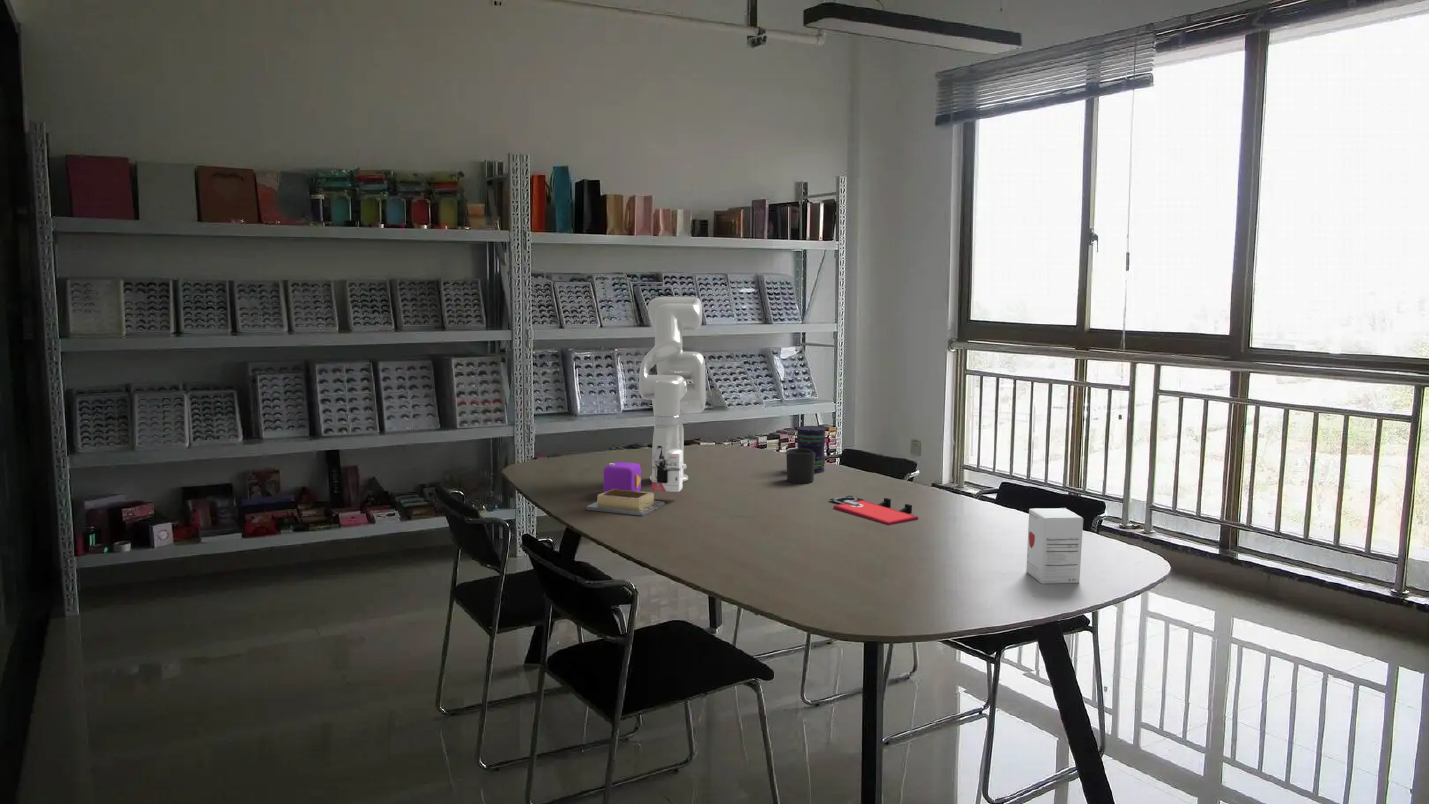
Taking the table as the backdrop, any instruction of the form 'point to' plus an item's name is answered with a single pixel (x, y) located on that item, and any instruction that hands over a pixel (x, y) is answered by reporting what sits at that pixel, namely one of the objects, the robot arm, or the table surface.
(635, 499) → the mount collar
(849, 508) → the red board with handle
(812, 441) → the storage jar
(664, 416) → the robot arm
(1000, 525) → the table surface
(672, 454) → the ink box
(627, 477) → the toy camera
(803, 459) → the pen holder
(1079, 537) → the supplement box
